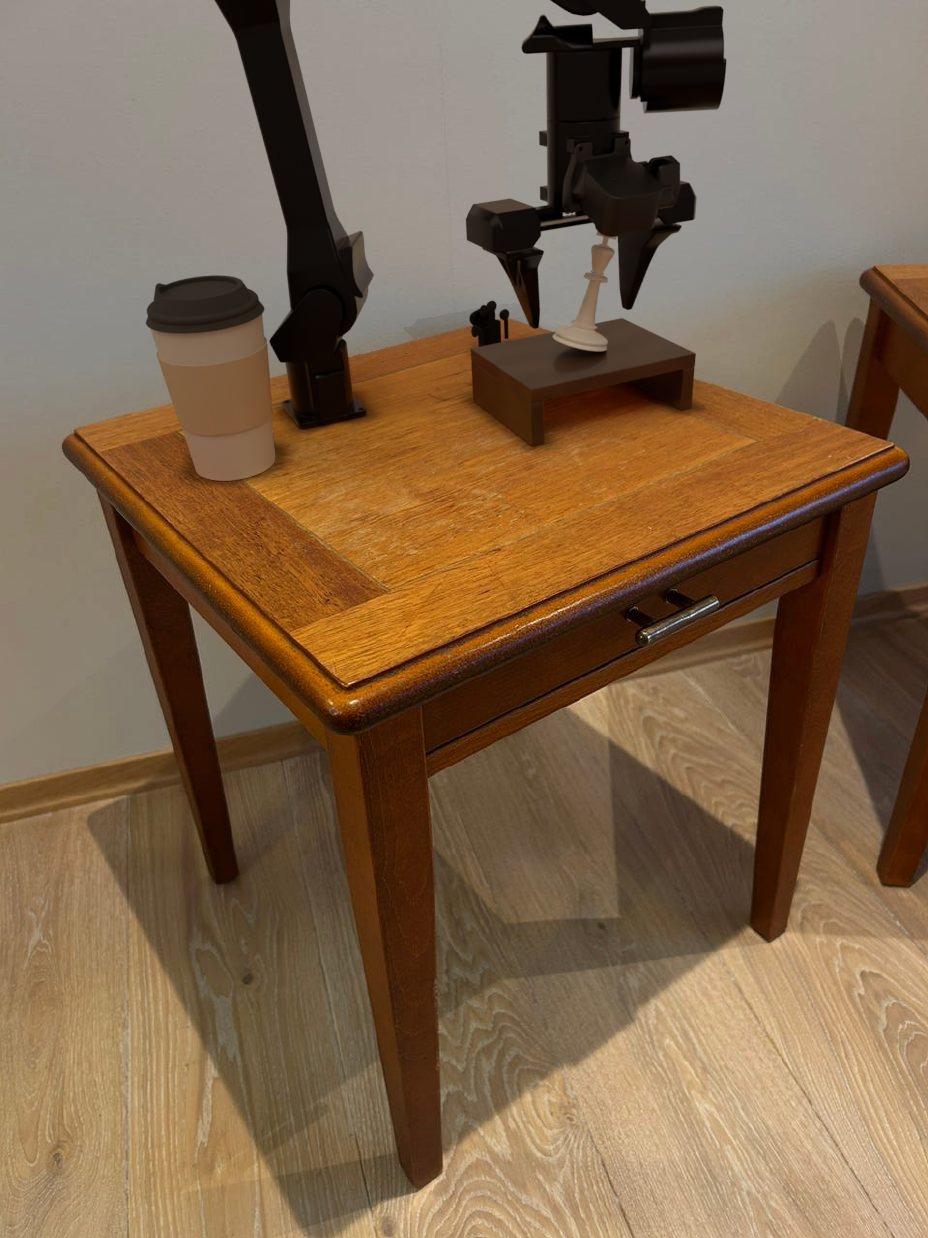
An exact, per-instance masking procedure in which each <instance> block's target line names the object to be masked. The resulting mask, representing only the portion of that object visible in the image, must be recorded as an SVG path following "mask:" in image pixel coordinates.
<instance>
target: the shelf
mask: <svg viewBox="0 0 928 1238" xmlns="http://www.w3.org/2000/svg"><path fill="white" fill-rule="evenodd" d="M595 326H596V327H597V328H596V329H594V330H595V331H596V332H597V333H599V334H601V335H602V336H604V337H605V338H606V339H607V341H608V344H607V345H606V346H607V350H606V351H602V352H595V351H587V350H581V349H577V348H573V347H570V346H567V345H564V344H562V343H559V342H557V341H556V340H554V339H553V337H552V336H553V335H554V334H555V331H551V332H547V333H542V334H541V333H540V334H537V335H536V334H535V335H532V336H527V337H522V338H517V339H511V340H507V341H501V343H496V344H491V345H486V346H481V347H479V346H477V347H472V348H470V364H471V383H472V384H471V385H472V386H471V387H472V399H473V400H472V401H473V402H474V403H475V404H476V405H478V406H479V407H481V409H483V410H485V411H486V412H487V413H488V414H489V415H491V416H492V417H493V418H495V419H496V420H497V421H499V422H500V423H501V424H503V425H504V426H505V427H506V428H507V429H509V430H510V431H511V432H513V433H514V434H515V435H517V436H518V437H519V438H521V439H522V440H523V441H524V442H525V443H527V444H528V445H529V446H531V447H537V446H539V445H544V444H545V401H549V400H552V399H557V398H562V397H567V396H571V395H574V394H575V395H576V394H579V393H583V392H588V391H593V390H597V389H601V388H606V387H610V386H614V385H615V386H616V385H619V384H623V383H628V382H630V383H631V384H633V385H635V386H637V387H639V388H640V389H642V390H644V391H645V392H647V393H649V394H651V395H652V396H654V397H656V398H658V399H659V400H661V401H663V402H665V403H666V404H668V405H670V406H672V407H673V408H675V409H677V410H679V411H684V410H689V409H691V408H692V405H693V394H694V380H695V367H696V359H697V358H696V356H697V354H696V352H694V351H692V350H689V349H688V348H685V347H683V346H682V345H679V344H677V343H675V342H674V341H671V340H669V339H666V338H664V337H663V336H660V335H659V334H656V333H654V332H652V331H651V330H648V329H647V328H644V327H642V326H640V325H638V324H635V323H634V322H631V321H629V320H627V319H625V318H623V317H621V318H616V319H615V318H614V319H611V320H606V321H600V322H595Z"/></svg>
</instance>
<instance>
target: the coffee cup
mask: <svg viewBox="0 0 928 1238" xmlns="http://www.w3.org/2000/svg"><path fill="white" fill-rule="evenodd" d="M153 294H154V295H153V300H152V301H151V303H149V304H148V306H147V308H146V314H147V317H146V319H145V320H146V321H145V325H146V327H148V328H149V329H150V331H151V335H152V339H153V341H154V345H155V347H156V358H157V360H158V364H159V366H160V370H161V373H162V376H163V377H164V379H163V380H164V381H165V385H166V388H167V391H168V393H169V396H170V400H171V403H172V406H173V408H174V411H175V414H176V418H177V421H178V424H179V426H180V428H182V432H183V435H184V438H185V441H186V444H187V447H188V448H187V449H188V451H189V454H190V457H191V460H192V464H193V466H194V469H195V472H196V474H197V475H199V476H200V477H201V478H203V479H207V480H209V481H210V480H211V481H217V482H228V481H237V480H238V481H239V480H244V479H248V478H252V477H254V476H257V475H260V474H262V473H264V472H266V471H268V470H269V468H271V467H272V466H273V465H274V464H275V462H276V449H275V437H274V430H273V429H274V427H273V416H272V414H273V400H272V399H273V397H272V386H271V373H270V362H269V350H268V347H269V346H268V339H267V338H266V336H265V331H264V320H263V318H264V317H263V313H264V312H265V306H264V305H263V303H262V302H261V301H260V300H259V299H260V298H259V295H258V294H257V293H256V291H254V290H252V289H250V288H248V287H247V286H246V284H245V283H244V281H243V280H242V279H240V278H239V277H235V276H231V275H219V274H218V275H215V274H213V275H201V276H194V277H187V278H183V279H179V280H175V281H172V282H169V283H167V284H165V283H161V282H159V283H156V284H155V286H154V293H153Z"/></svg>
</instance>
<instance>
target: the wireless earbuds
mask: <svg viewBox="0 0 928 1238" xmlns="http://www.w3.org/2000/svg"><path fill="white" fill-rule="evenodd" d="M497 306H498V305H497V302H496V301H495V300H490V301H487V303H486V304H482V305H481V306H480V308H477V309H476V310H474V311H472V312H471V314H470V315H469V318H468V319H469V323H470V325H471V329H470V334H471V337H473V338H476V337H477V342H478V343H477V344H478V346H477V347H481V346H486V345H491V344H496V343H501V342H502V325H501V323H502V322H501V321H503V333H504V334H503V337H504V340H509V336H510V335H509V317H510V311H509V310H508V309H507V308H504V309H501V310H500V311H499V314H498V317H499V318H500V319H501V320H499V319H496V310H497Z"/></svg>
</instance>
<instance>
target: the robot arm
mask: <svg viewBox="0 0 928 1238" xmlns="http://www.w3.org/2000/svg"><path fill="white" fill-rule="evenodd" d="M549 1H550V2H552V3H553V4H555V5H556V6H557V7H559V8H561V9H562V10H563V11H566V12H567V13H569V14H570V15H571V14H572V15H574V16H580V17H587V16H593V15H596V14H599V15H601V16H602V17H604V18H605V19H606V20H608V21H609V22H611V23H612V24H613V25H614V26H616V27H617V28H618V29H620V30H623V31H629V30H637V36H635V35H634V36H620V37H598V38H597V37H596V38H594V31H593V24H592V23H578V24H577V23H576V24H563V25H562V24H561V25H560V24H559V25H554V24H552V22H551V21H550V20H549V19H548V17H547V15H545V14H541V15H540V16H539V17H538V20H537V22H536V25H535V27H534V28H533V29H532V31H531V33H530V34H529V35H528V36H526V38H524V39H523V41H522V43H521V47H520V48H521V52H522V53H523V54H525V55H535V54H545V75H546V76H545V78H546V79H545V80H546V81H545V82H546V84H545V85H546V89H545V90H546V93H545V94H546V130H539V131H538V138H539V139H538V142H539V143H538V144H539V146H541V147H545V148H546V175H547V176H546V185H540V186H539V200H540V201H543V202H546V203H547V204H546V205H540V206H533V205H530V204H528V203H524V202H521V201H519V200H516V199H513V198H504V199H498V200H492V201H484V202H479V203H473V204H472V205H471V207H470V209H469V211H468V213H467V215H466V217H465V232H466V241H468V242H470V243H472V244H474V245H476V246H478V247H480V248H481V249H482V250H483V251H485V252H487V253H488V254H489V253H490V254H491V255H493V256H495V257H496V259H497V261H498V262H499V264H500V265H501V267H502V269H503V271H504V273H505V274H506V276H507V278H508V280H509V283H510V284H511V286H512V288H513V292H514V294H515V296H516V298H517V300H518V302H519V305H520V307H521V310H522V312H523V314H524V316H525V318H526V321H527V323H528V326H529V327H530V328H532V329H534V330H536V329H539V327H540V319H541V304H540V303H541V302H540V301H541V300H540V286H539V285H540V283H539V265H540V264H541V261H542V259H543V256H544V253H545V250H543V249H541V248H538V247H536V246H535V245H536V244H537V243H538V241H539V240H540V238H541V237H542V232H547V231H553V230H559V229H565V228H570V227H577V226H582V225H589V224H593V225H594V227H595V228H594V229H595V230H596V232H597V231H598V232H599V233H600V234H602V235H604V236H608V237H616V236H617V258H618V259H617V261H618V285H619V286H618V288H619V295H620V300H621V301H620V302H621V303H620V304H621V307H622V308H623V309H624V310H627V311H630V310H632V309H633V307H634V305H635V302H636V300H637V297H638V295H639V293H640V289H641V287H642V284H643V282H644V279H645V277H646V274H647V271H648V269H649V266H650V264H651V262H652V260H653V258H654V256H655V254H656V252H657V250H658V248H659V246H660V245H662V244H663V243H664V241H666V240H667V239H668V238H669V237H670V236H672V235H673V234H677V233H679V232H680V231H681V230H682V226H683V225H682V224H679V223H685V222H690V221H694V220H695V219H696V213H697V211H696V210H697V200H698V199H697V195H696V193H695V190H694V188H693V186H692V185H691V183H690V182H688V181H684V180H681V163H680V162H679V161H678V160H677V159H676V158H675V156H674V155H672V154H670V155H669V154H668V155H663V156H655V157H652V158H650V159H649V160H648V161H647V160H643V161H635V160H634V159H633V156H632V151H631V149H632V148H631V147H632V140H631V138H630V131H627V130H622V129H621V117H622V116H621V114H622V113H621V110H622V82H623V81H622V77H623V76H622V75H623V49H629V65H628V67H629V68H628V92H629V93H628V94H629V95H628V96H629V100H638V98H639V103H641V104H642V111H643V114H644V115H645V114H661V113H663V114H664V113H678V112H698V111H714V110H715V111H716V110H719V108H720V107H721V103H722V99H723V96H724V88H725V81H726V74H727V73H726V72H727V58H725V35H724V27H723V23H724V8H723V7H722V6H720V5H718V4H717V5H704V6H699V7H695V8H694V9H688V10H673V11H657V12H649V10H648V9H647V7H646V6H647V0H549ZM214 2H215V4H216V6H217V8H218V9H219V11H220V13H221V15H222V16H223V17H224V19H225V21H226V23H227V24H228V27H229V28H230V30H231V32H232V34H233V36H234V38H235V41H236V44H237V49H238V53H239V56H240V59H241V60H240V61H241V64H242V67H243V71H244V75H245V79H246V82H247V86H248V90H249V94H250V97H251V101H252V104H253V108H254V111H255V112H254V113H255V115H256V120H257V122H258V126H259V127H258V128H259V131H260V134H261V138H262V142H263V145H264V149H265V153H266V156H267V161H268V164H269V168H270V171H271V175H272V178H273V179H272V180H273V183H274V186H275V190H276V194H277V197H278V201H279V205H280V209H281V212H282V216H283V220H284V224H285V227H286V278H287V279H286V281H287V289H288V298H289V299H288V300H289V307H290V310H289V311H288V313H287V315H286V316H285V317H284V318H283V319H282V322H281V323H280V324H279V325H278V327H277V329H275V332H273V334H272V336H271V337H270V339H269V342H268V343H269V345H270V347H271V348H272V350H273V352H274V354H275V356H276V358H277V360H278V362H280V363H281V364H282V363H283V364H284V363H285V370H286V375H287V381H288V382H287V383H288V388H289V392H290V399H284V400H283V401H281V405H282V408H283V410H285V412H286V413H287V414H288V416H289V417H290V418H291V419H292V420H293V422H294V423H295V424H296V426H297V427H298V428H299V429H304V428H305V429H306V428H310V427H315V426H319V425H320V426H321V425H324V424H329V423H334V422H338V421H342V420H347V419H352V418H357V417H360V416H365V415H367V414H368V410H367V409H368V408H366V406H365V405H364V404H363V403H362V402H361V401H360V400H359V399H358V398H357V397H356V395H354V392H353V391H354V390H353V382H352V375H351V366H350V360H349V359H350V358H349V350H348V343H347V341H346V339H344V338H343V337H344V335H346V334H347V333H348V332H349V331H351V329H352V328H353V327H354V325H355V323H356V321H357V319H358V318H359V315H360V314H361V312H362V309H363V308H364V305H365V304H366V302H367V299H368V295H369V286H370V285H371V282H372V280H373V279H374V276H375V274H374V273H373V271H372V270H371V268H370V267H369V264H368V260H367V258H366V257H367V256H366V250H365V247H366V246H365V237H364V232H363V230H359V231H356V232H354V233H351V234H348V233H347V231H346V230H345V228H344V226H343V225H342V223H341V220H340V219H339V217H338V216H337V215H338V214H337V212H336V210H335V207H334V202H333V198H332V194H331V190H330V186H329V181H328V176H327V173H326V169H325V164H324V160H323V157H322V156H323V155H322V153H321V147H320V144H319V140H318V136H317V131H316V127H315V123H314V119H313V115H312V110H311V106H310V102H309V98H308V93H307V89H306V86H305V82H304V77H303V73H302V69H301V68H302V67H301V65H300V60H299V55H298V52H297V49H296V43H295V39H294V36H293V31H292V27H291V0H214ZM564 214H565V215H564Z"/></svg>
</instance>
